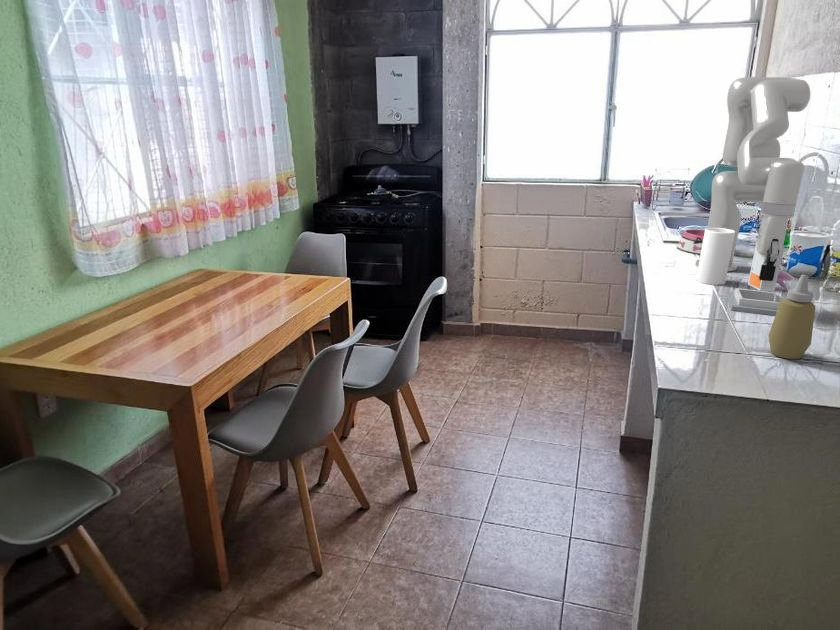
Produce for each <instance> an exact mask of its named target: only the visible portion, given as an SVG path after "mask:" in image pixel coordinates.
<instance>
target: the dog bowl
mask: <svg viewBox="0 0 840 630" xmlns="http://www.w3.org/2000/svg"><path fill="white" fill-rule="evenodd" d="M704 233H705V229H701V228H699V229H697V228H693V229H692V228H691V229H685V230H684V231H683V232H682V234H681V237H680V239H679V241H678V244H677V246H676V249H678V250H679V251H681V252H683V253H687V254H692V255H698V256H700V255H701V249H702V244H703V238H704Z"/></svg>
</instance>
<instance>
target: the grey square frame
mask: <svg viewBox="0 0 840 630" xmlns="http://www.w3.org/2000/svg"><path fill="white" fill-rule="evenodd" d="M725 297H726V299H727V303H728V302H729V303H728V305H730V306H729V308H731V309H730V311H732V310H735V311H734V312H740V311H742V313H748V312H749V314H757V315H767V316H774V317H775V315H776V312H777V310H778V307H779V304H780V301H781V300H783V299H784V298H783V297H781V296H780V295H779V293H778V292H775V291H759V290H758V289H756V290H754V289H746V288H738V287H737V288H735V289H734V292H731V291H730V292H729V291H726V295H725Z"/></svg>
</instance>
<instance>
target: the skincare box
mask: <svg viewBox="0 0 840 630" xmlns="http://www.w3.org/2000/svg"><path fill="white" fill-rule="evenodd" d="M757 243H758V242H757ZM757 243H756V242H755V245H756V247H755V246H754V247H755V248H754V252H753V258H752V261H751V267H750V271H749V275H748V277H749V278H748V282H747V286H750V287H752V288H754V289H756V290H757V291H766V292H775V290H776V286H777V283H776V282H777V278H778V273H779V269H780V270H781V264H782V260H783V254H784V251H785V247H784V246H783V248H782V252H781V254H780V255H779V256H777V262H776V269H775V273H774V278H773V281H765V280H760V279H759V276H760V271H761V266H762V265H763V263H764V255H765V253H763V254H760V253H759V252H758V251H757V250H756V249H757ZM767 253H771V247H770V248H769V249H768V251H767ZM778 253H779V251H778ZM777 255H778V254H777ZM768 257H770V256H767V258H768Z"/></svg>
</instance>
